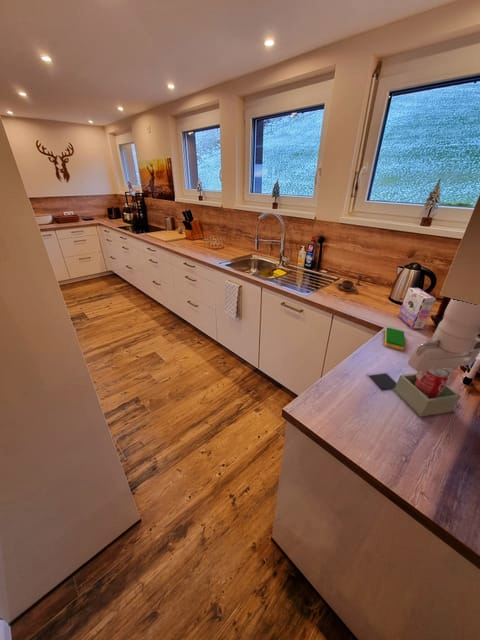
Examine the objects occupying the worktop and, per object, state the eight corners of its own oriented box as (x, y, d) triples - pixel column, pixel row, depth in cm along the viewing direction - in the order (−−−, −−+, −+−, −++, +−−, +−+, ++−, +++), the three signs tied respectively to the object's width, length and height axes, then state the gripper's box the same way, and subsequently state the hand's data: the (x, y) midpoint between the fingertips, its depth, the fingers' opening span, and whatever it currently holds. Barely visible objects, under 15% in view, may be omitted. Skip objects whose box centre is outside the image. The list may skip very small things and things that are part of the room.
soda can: (433, 395, 87) (448, 367, 82) (436, 410, 82) (453, 381, 76) (409, 388, 90) (421, 360, 84) (411, 402, 84) (425, 373, 78)
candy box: (423, 329, 127) (437, 298, 119) (411, 329, 127) (424, 298, 119) (408, 316, 139) (419, 287, 131) (397, 315, 139) (407, 286, 131)
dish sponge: (402, 335, 122) (404, 331, 121) (403, 350, 111) (405, 346, 110) (385, 331, 125) (387, 327, 123) (384, 345, 114) (386, 341, 113)
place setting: (331, 284, 178) (333, 276, 175) (358, 283, 181) (360, 275, 178) (344, 294, 163) (347, 285, 160) (373, 293, 166) (376, 284, 163)
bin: (422, 385, 92) (429, 371, 89) (451, 411, 82) (461, 396, 79) (393, 389, 90) (400, 375, 87) (420, 416, 80) (428, 401, 77)
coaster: (385, 374, 97) (386, 373, 97) (399, 387, 91) (399, 386, 91) (369, 376, 96) (369, 375, 96) (381, 389, 90) (382, 389, 90)
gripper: (430, 349, 70) (411, 387, 77) (491, 343, 74) (468, 380, 81) (412, 336, 75) (396, 373, 82) (469, 331, 79) (450, 367, 86)
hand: (432, 376), depth 81 cm, fingers open, 8 cm apart
